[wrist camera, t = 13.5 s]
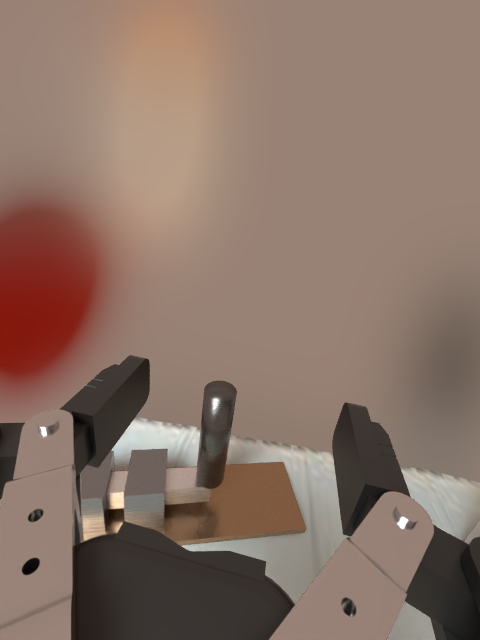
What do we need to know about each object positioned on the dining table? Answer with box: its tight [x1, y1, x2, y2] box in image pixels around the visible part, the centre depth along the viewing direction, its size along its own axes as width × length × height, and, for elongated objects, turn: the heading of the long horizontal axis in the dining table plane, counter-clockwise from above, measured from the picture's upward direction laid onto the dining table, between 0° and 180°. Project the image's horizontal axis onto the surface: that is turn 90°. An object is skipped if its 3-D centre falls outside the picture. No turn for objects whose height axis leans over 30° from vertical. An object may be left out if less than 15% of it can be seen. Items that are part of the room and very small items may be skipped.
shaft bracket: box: [80, 449, 306, 545], centre depth 35 cm, size 28×9×6 cm, turn 99°
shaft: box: [105, 381, 237, 509], centre depth 31 cm, size 17×3×15 cm, turn 99°
